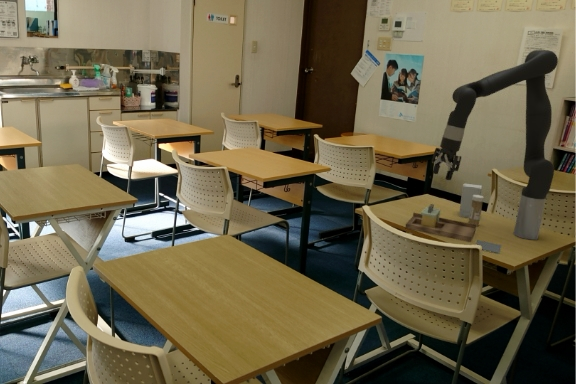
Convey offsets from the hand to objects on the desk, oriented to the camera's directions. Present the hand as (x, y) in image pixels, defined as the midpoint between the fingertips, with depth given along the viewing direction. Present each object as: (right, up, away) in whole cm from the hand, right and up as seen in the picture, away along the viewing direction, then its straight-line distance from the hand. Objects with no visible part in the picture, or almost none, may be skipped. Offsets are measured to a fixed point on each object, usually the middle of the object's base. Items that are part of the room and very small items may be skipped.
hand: (441, 176), depth 210 cm
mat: (+15, -27, -9) cm, 32 cm away
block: (-4, -21, +7) cm, 23 cm away
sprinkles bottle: (+19, -21, +17) cm, 33 cm away
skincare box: (+21, -18, +30) cm, 40 cm away
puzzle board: (+1, -23, +5) cm, 23 cm away
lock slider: (-3, -19, +7) cm, 21 cm away
